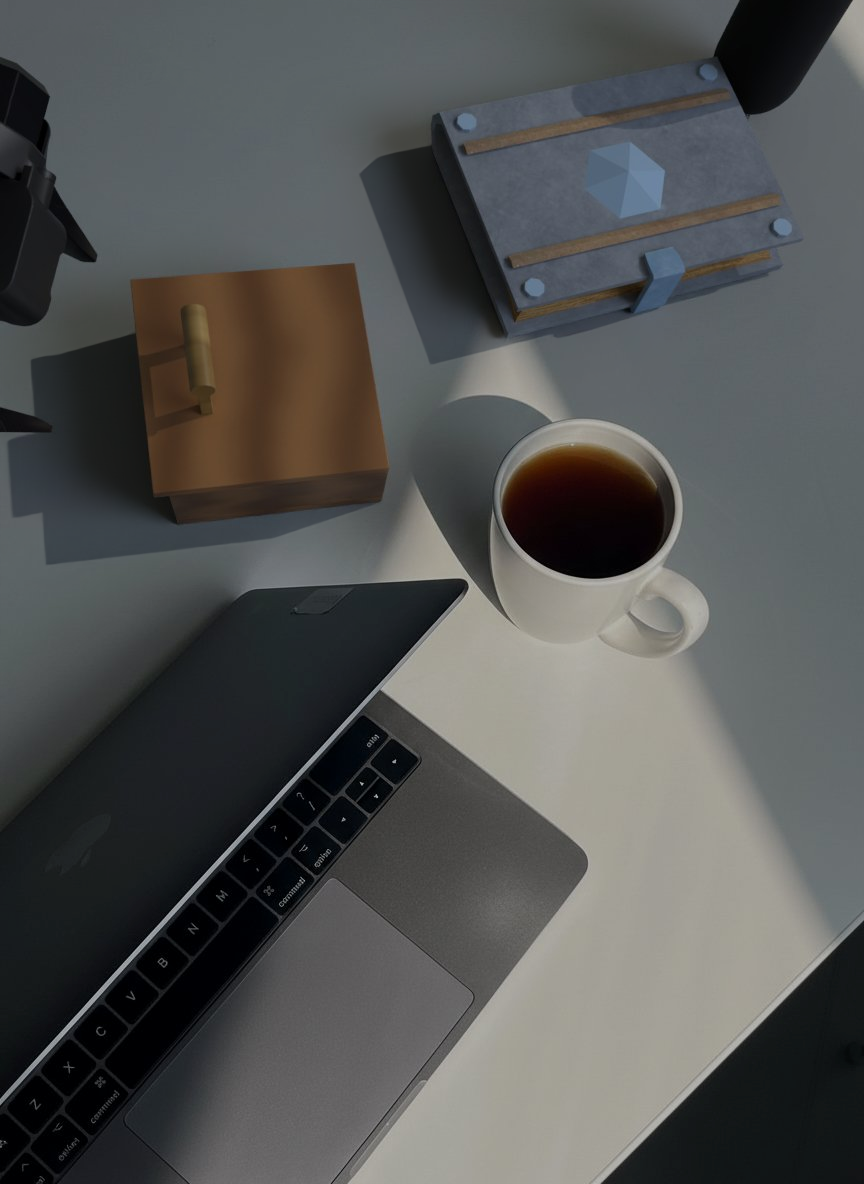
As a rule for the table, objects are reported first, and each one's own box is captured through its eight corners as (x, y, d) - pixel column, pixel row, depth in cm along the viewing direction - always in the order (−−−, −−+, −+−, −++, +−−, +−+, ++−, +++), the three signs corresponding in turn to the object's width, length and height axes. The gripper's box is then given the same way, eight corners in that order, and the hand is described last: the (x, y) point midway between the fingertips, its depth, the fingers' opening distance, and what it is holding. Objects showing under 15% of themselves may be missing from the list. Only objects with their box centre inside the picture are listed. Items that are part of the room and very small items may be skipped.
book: (690, 89, 77) (716, 36, 72) (779, 277, 73) (812, 235, 69) (427, 144, 73) (436, 91, 68) (507, 346, 69) (523, 307, 64)
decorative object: (793, 91, 78) (905, -86, 64) (758, 151, 76) (865, -19, 62) (719, 48, 78) (813, -138, 64) (682, 106, 77) (771, -73, 62)
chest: (178, 525, 63) (169, 496, 58) (155, 326, 66) (145, 285, 62) (381, 501, 65) (388, 472, 60) (350, 310, 68) (354, 269, 64)
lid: (154, 497, 58) (143, 466, 54) (131, 285, 62) (119, 239, 57) (388, 472, 60) (396, 440, 56) (354, 269, 64) (358, 223, 59)
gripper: (-156, 439, 35) (145, 539, 49) (-15, -66, 37) (237, 171, 51) (-343, 411, 40) (-20, 510, 54) (-211, -34, 41) (69, 174, 55)
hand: (68, 343), depth 53 cm, fingers open, 9 cm apart
